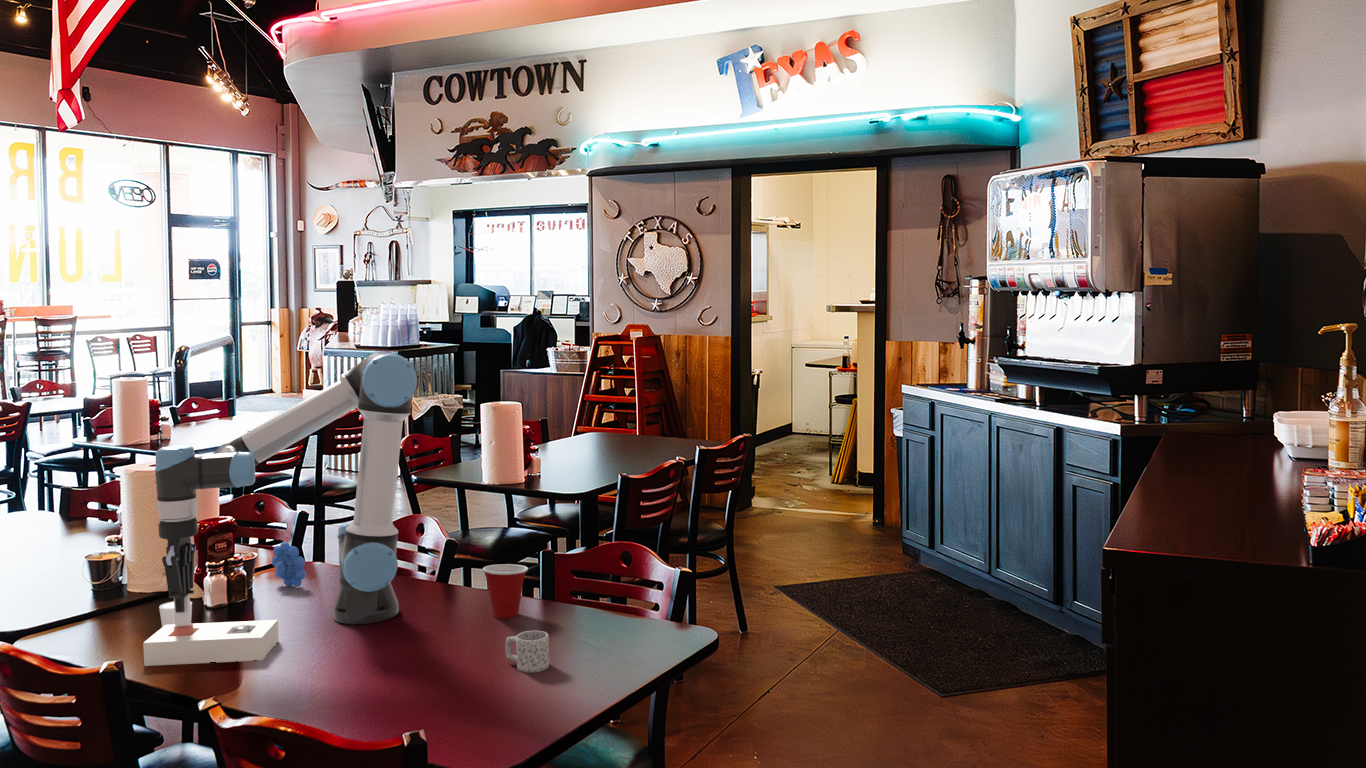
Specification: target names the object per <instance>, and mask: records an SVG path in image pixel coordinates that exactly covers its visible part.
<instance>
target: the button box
mask: <svg viewBox="0 0 1366 768" xmlns="http://www.w3.org/2000/svg"><path fill="white" fill-rule="evenodd" d="M192 624H193V631H194V634H193V635H191V636H174V627H175V624H170V625H165V626H163V627H162V626H161V628H160V629H158V630H157V631H155V633H153V634H152V635H151V636H150V637H148V638H147V639H146V640H145V641H144V642H142V644H143V665H144V667H151V666H153V667H154V666H171V665H172V666H173V665H190V664H191V665H192V664H193V665H195V664H211V663H210V662H216V663H232V662H233V663H234V662H235V663H236V661H237V662H253V660H258V661H264V660H265V659H266V657H267V656H268V655H269V654H270V653H269V652H271V651H272V650H273V649H274V648H275V647H274V646H277V644H278V643H279V642H278V641H280V639H279V637H280V636H279V620H278V619H268V620H267V619H266V620H264V619H262V620H247V621H245V620H244V621H241V620H240V621H239V620H238V621H223V622H222V621H221V622H220V621H219V622H201V623H200V622H199V623H198V622H196V623H192ZM239 625H250V626H251V632H250V633H235V634H232V628H233V627H235V626H239ZM277 642H278V643H277ZM276 643H277V644H276ZM273 647H274V648H273ZM272 648H273V649H272ZM271 649H272V650H271ZM270 650H271V651H270ZM268 653H269V654H268ZM267 654H268V655H267ZM266 655H267V656H266ZM263 659H264V660H263Z"/></svg>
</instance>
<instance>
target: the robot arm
mask: <svg viewBox="0 0 1366 768" xmlns="http://www.w3.org/2000/svg"><path fill="white" fill-rule="evenodd" d="M417 380H418V379H417V374H416V371H415V369H414V366H413V365H412V364H411V362H410V361H409V360H408V359H407V358H405V357H404V356H402V355H400V354H398V353H395V352H392V351H385V350H382V351H381V350H380V351H378V352H377V351H376V352H374V353H372V354H370V355H369V356H366V358H365V359H363V360H361V361H360V362H359V363H357V364H356V365H355V366H354V367H352V368H350V369H349V370H347V371H345V372H343V373H342V374H341V376H340V379H339V380H337V381H336V382H334V383H333V384H331V385H329V386H327V387H325V388H323V389H322V390H320V391H318V392H317V393H315V394H313V395H311V396H309V397H307V398H306V399H304V400H302V401H301V402H299V403H297V404H295V405H293V406H291V407H290V408H288V409H286V410H285V411H282V412H281V413H279V414H277V415H275V416H274V417H272V418H271V419H269V420H267V421H266V422H264V423H262V424H260V425H258V426H256V427H254V428H253V429H250V431H247V432H246V433H243V434H242V435H241V436H239V437H237V438H235V439H234V440H232V441H230V442H227V443H224V444H222V445H220V446H218V447H216V449H215V450H214V451H213V452H212V453H207V454H197V453H196V452H195V448H194V447H193V446H191V445H178V444H177V445H169V446H163V447H160V448H158V449H157V450H156V452H155V469H154V472H155V473H154V474H155V485H156V486H155V487H156V498H157V499H156V501H157V503H155V508H156V509H157V517H158V518H159V519H160V520H159V521H158V523H157V524H158V536H159V538H160V539H163V540H166V541H167V546H166V551H165V553H166V556H162V557H161V560H162V564H163V566H164V571H165V578H166V584H167V591H168V598H169V599H173V601H174V612H175V627H181V626H189V625H190V624H192V615H191V616H190V601H191V599H190V598H191V597H190V595H193V594H194V593H195V590H194V589H193V588H194V577H195V576H194V575H195V574H194V573H195V571H194V570H195V553H196V549H197V548H196V547H197V544H196V543H195V542H191V541H192V540H191V539H192V538H193V537H195V536H196V535H197V534H198V532H199V529H198V528H199V527H198V518H197V517H196V516H197V515H198V506H197V504H198V503H197V502H198V501H197V493H196V492H197V490H205V489H222V488H223V489H224V488H238V489H239V488H241V487H247V486H249V487H250V486H253V485H254V484H255V482H256V466H258V465H259V464H260V463H262V462H264V461H267V459H269V458H271V457H272V456H275V455H277V454H278V453H279V452H282V451H283V450H285V449H287V448H289V447H291V446H292V445H293V444H295V443H297V442H299V441H301V440H303V439H305V438H306V437H308V436H310V435H312V434H313V433H315V432H317V431H318V430H320V429H322V428H324V427H325V426H327V425H329V424H331V423H332V422H334V421H335V420H337V419H340V418H342V417H343V416H345V415H346V414H348V413H350V412H352V411H354V410H356V409H357V410H358V412H359V413H360V414H361V415H362V417H363V425H362V426H363V427H362V436H361V443H360V444H361V445H360V453H359V454H360V456H359V464H358V474H357V484H356V493H355V494H356V495H355V503H354V504H355V505H354V513H353V520H352V522H346V523H342V524H340V525H339V527H338V529H337V530H338V531H337V532H338V533H337V539H338V560H339V561H338V563H339V564H338V565H339V589H338V592H337V596H336V600H335V603H334V605H333V606H334V607H333V620H334V621H335V622H338V623H340V624H345V625H365V624H367V625H368V624H373V623H374V624H375V623H380V622H383V621H386V620H389V619H391V618H392V619H393V618H394V617H396V616H398V614H399V602H398V599H397V596H396V593H395V591H394V589H393V585H392V581H393V580H394V578H395V576H396V574H397V570H398V566H399V565H398V564H399V562H398V557H397V547H398V546H397V545H398V537H399V529H397V528H396V526H395V525H394V523H393V520H394V510H395V501H396V492H397V491H396V490H397V482H398V473H399V472H398V470H399V463H400V454H401V443H402V432H403V422H404V421H405V419H407V418H408V417H409V416H410V415H411V412H412V403H413V396H414V394H415V392H416V389H417V384H418V381H417Z"/></svg>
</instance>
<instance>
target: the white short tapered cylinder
mask: <svg viewBox="0 0 1366 768" xmlns="http://www.w3.org/2000/svg"><path fill="white" fill-rule="evenodd" d="M158 609H159V614H160V621H161V628H162V627H163V626H165V625H170V624H175V612H174V600H173V601H168V602H165V603H162V604H160V605H159V607H158ZM192 612H193V601H191V600H190V616H191V617H192V614H193V613H192Z"/></svg>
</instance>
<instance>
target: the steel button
mask: <svg viewBox="0 0 1366 768" xmlns="http://www.w3.org/2000/svg"><path fill="white" fill-rule="evenodd" d="M250 632H251V626H250V625H239V626H235V627H233V628H232V634H235V633H250Z"/></svg>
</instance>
